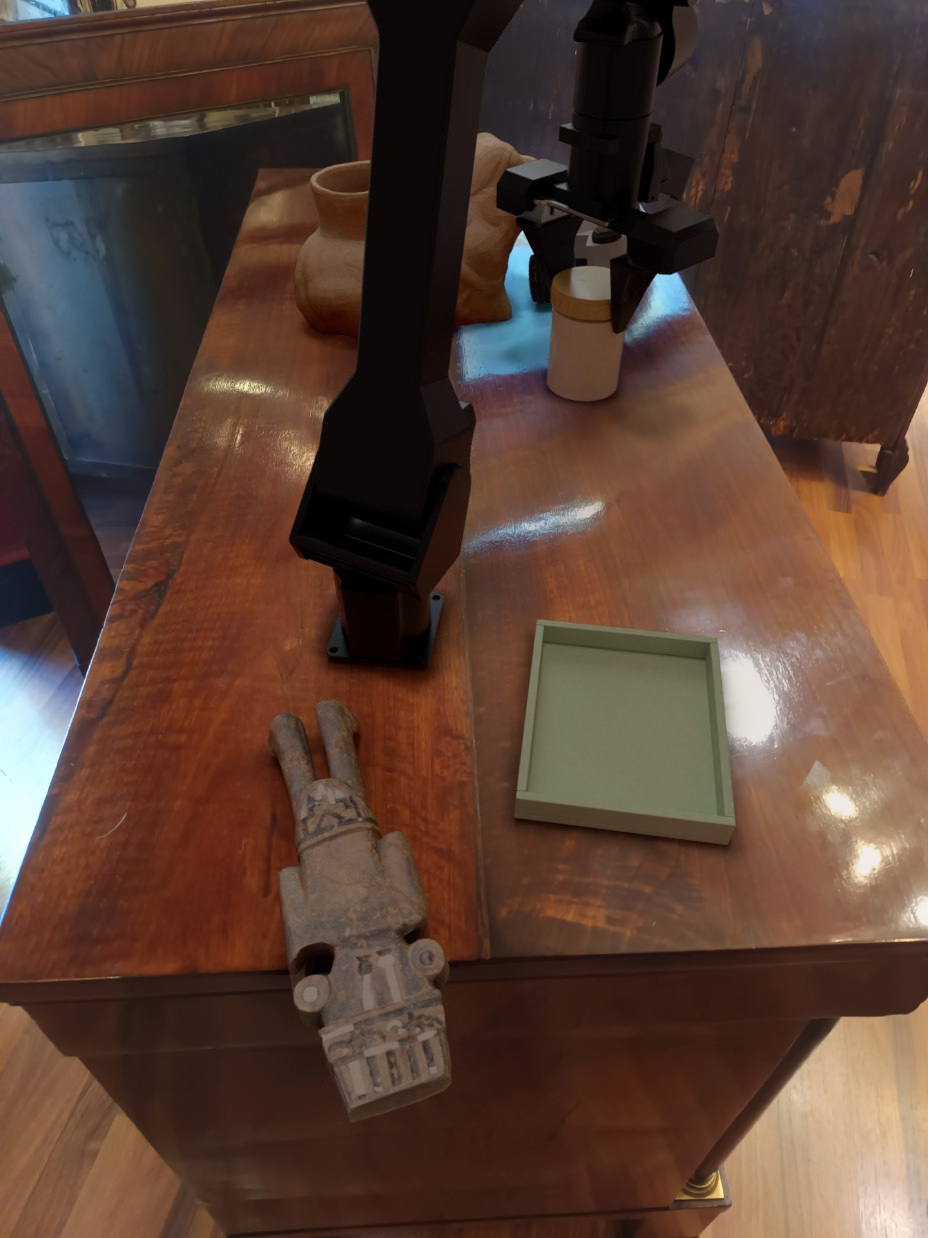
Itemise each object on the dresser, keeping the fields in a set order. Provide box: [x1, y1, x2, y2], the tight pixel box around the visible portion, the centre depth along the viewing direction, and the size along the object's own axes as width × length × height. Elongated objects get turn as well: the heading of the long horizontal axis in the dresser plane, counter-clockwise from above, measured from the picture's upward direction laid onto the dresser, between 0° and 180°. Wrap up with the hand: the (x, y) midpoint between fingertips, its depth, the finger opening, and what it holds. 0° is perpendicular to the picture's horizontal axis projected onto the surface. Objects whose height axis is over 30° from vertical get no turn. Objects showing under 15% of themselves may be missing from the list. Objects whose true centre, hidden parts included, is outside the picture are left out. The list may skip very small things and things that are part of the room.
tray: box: [513, 618, 737, 846], centre depth 46 cm, size 13×11×2 cm
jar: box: [546, 305, 627, 402], centre depth 72 cm, size 6×6×9 cm
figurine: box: [267, 699, 453, 1123], centre depth 39 cm, size 7×5×20 cm
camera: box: [528, 203, 641, 305], centre depth 83 cm, size 15×11×10 cm
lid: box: [550, 266, 611, 320], centre depth 69 cm, size 7×7×2 cm
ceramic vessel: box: [293, 132, 538, 342], centre depth 80 cm, size 14×26×15 cm, turn 112°
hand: (589, 317), depth 70 cm, fingers closed on lid, 6 cm apart
